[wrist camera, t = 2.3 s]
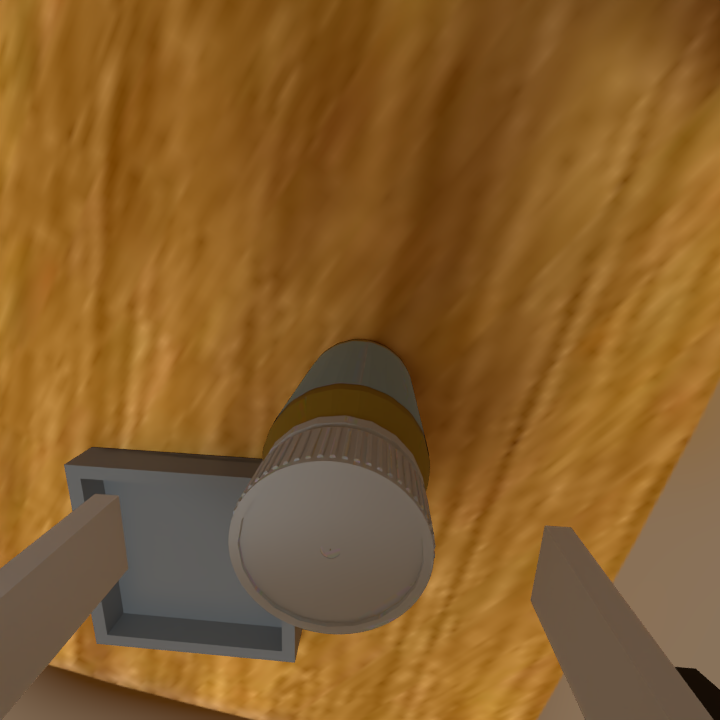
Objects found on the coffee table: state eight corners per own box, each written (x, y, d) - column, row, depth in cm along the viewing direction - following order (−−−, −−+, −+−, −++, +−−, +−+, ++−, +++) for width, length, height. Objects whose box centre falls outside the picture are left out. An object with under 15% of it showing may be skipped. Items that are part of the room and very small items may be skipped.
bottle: (308, 429, 26) (216, 633, 12) (311, 333, 24) (208, 434, 10) (405, 438, 26) (435, 657, 11) (416, 341, 24) (466, 457, 10)
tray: (91, 447, 28) (64, 464, 25) (302, 461, 27) (294, 481, 24) (118, 614, 32) (96, 643, 29) (301, 631, 31) (294, 662, 29)
